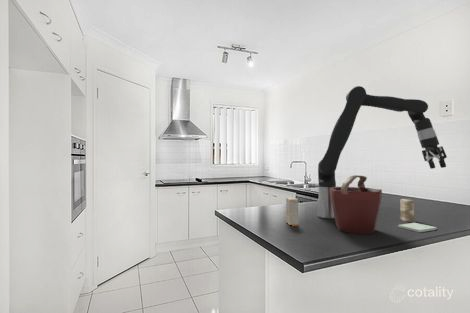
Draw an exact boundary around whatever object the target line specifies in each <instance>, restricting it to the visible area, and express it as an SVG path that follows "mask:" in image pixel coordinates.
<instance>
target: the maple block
mask: <svg viewBox="0 0 470 313" xmlns="http://www.w3.org/2000/svg"><path fill="white" fill-rule="evenodd" d="M399 200H400V204H399V205H400V206H399V207H400V208H399V210H400V220H401V221H403V222H405V223H406V222H407V223H415V200H413V199H410V198H409V199H407V198H403V199H402V198H401V199H399Z"/></svg>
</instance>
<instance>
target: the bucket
mask: <svg viewBox="0 0 470 313" xmlns="http://www.w3.org/2000/svg"><path fill="white" fill-rule="evenodd" d="M357 178H359V180H358V182H357V186H355V187H354V186H350V185H351V184H352V183H353V182H354V181H355V180H356V179H357ZM367 179H368V177H367V176H364V175H351V176H349V177H347V179H345V181H344V182H342V184H341V186H336V187H335V188H330V198H331V203H332V207H333V212H334V217H335V218H334V221H335V226H336V228H337V229H338V230H339V231H341V232H346V233H351V234H356V235H366V234H367V235H368V234H369V235H371V234H374V233H375V231H376V229H377V223H378V219H379V213H380V208H381V203H382V197H383V189H379V188H371V187H366V186H365V185H366V184H365V183H366V181H367Z"/></svg>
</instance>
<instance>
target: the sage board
mask: <svg viewBox="0 0 470 313" xmlns="http://www.w3.org/2000/svg"><path fill="white" fill-rule="evenodd" d="M397 227H398V228H401V229H403V230H408V231H413V232H415V233H416V232H417V233H425V232H430V231H431V232H432V231H436V230H437V227H436V226H432V225H427V224H424V223H423V224H422V223H417V222H407V223H402V224H398V225H397Z"/></svg>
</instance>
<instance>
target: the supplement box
mask: <svg viewBox="0 0 470 313" xmlns="http://www.w3.org/2000/svg"><path fill="white" fill-rule="evenodd" d="M285 203H286V204H285V207H286V209H285V212H286V214H285V215H286V216H285V217H286V218H285V219H286V221H285V222H286V224H287V223H288V224H289V225H292V226H291V227H298V226H299V199H298V198H296V197H293V196H292V197H290V196H289V197H286V198H285ZM288 224H287V225H288ZM289 225H288V226H289Z"/></svg>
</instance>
